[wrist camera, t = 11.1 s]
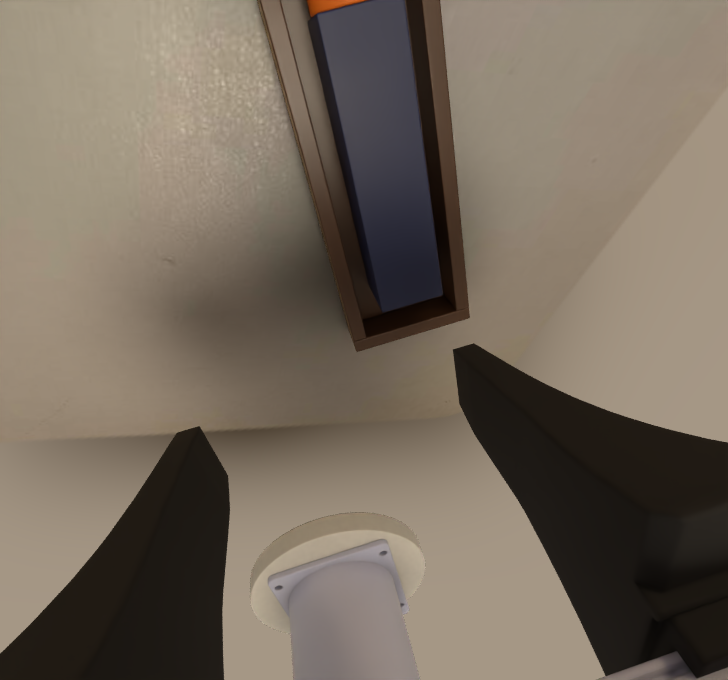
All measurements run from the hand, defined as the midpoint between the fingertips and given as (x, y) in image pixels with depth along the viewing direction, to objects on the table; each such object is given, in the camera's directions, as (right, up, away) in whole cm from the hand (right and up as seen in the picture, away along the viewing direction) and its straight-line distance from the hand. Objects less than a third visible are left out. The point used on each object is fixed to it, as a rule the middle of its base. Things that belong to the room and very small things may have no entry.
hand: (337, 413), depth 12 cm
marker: (+1, +10, +4) cm, 11 cm away
